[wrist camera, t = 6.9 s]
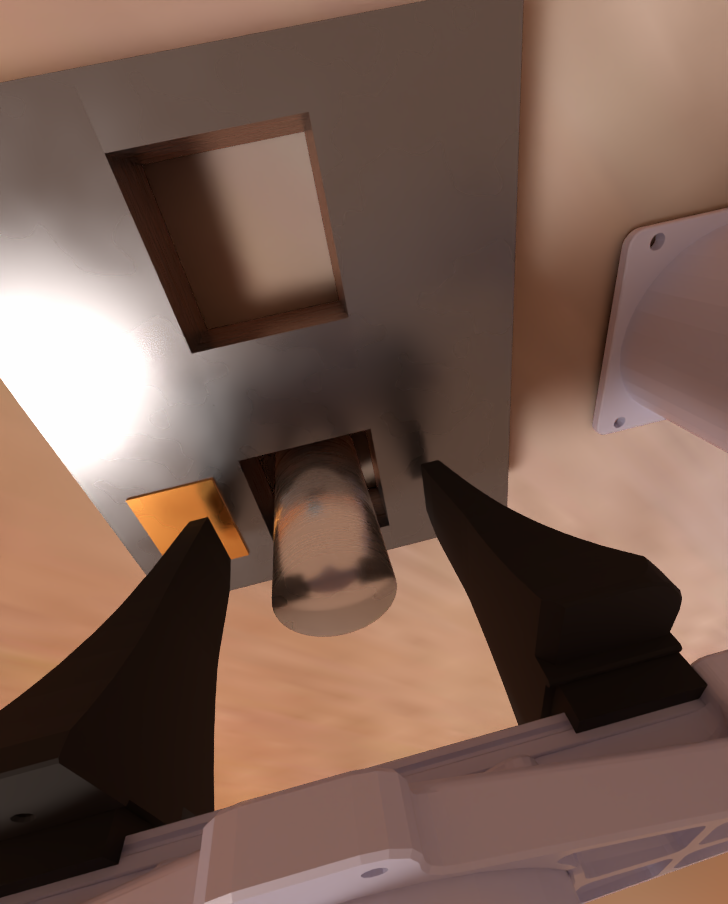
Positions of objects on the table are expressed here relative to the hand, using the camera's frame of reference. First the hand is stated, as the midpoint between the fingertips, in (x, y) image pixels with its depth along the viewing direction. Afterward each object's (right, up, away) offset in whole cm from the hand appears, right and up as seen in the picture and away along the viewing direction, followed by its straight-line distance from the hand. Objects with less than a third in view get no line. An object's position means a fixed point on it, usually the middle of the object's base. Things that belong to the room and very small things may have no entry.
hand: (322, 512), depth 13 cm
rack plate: (-1, +5, +1) cm, 5 cm away
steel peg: (-1, +2, +3) cm, 3 cm away
